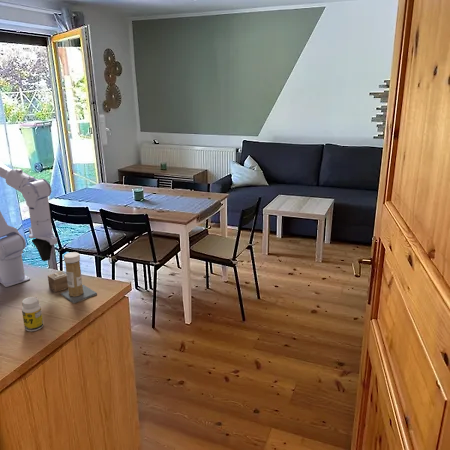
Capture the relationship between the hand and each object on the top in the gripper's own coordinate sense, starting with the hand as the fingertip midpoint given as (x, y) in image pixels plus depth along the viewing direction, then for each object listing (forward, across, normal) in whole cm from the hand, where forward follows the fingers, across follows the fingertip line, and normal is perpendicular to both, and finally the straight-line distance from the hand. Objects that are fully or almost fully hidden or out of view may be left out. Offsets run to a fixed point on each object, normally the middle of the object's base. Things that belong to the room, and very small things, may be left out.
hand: (45, 259), depth 134 cm
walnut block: (+10, +1, +3) cm, 11 cm away
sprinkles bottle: (+10, +10, +4) cm, 15 cm away
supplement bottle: (+11, +18, -14) cm, 25 cm away
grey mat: (+10, +10, +4) cm, 15 cm away
